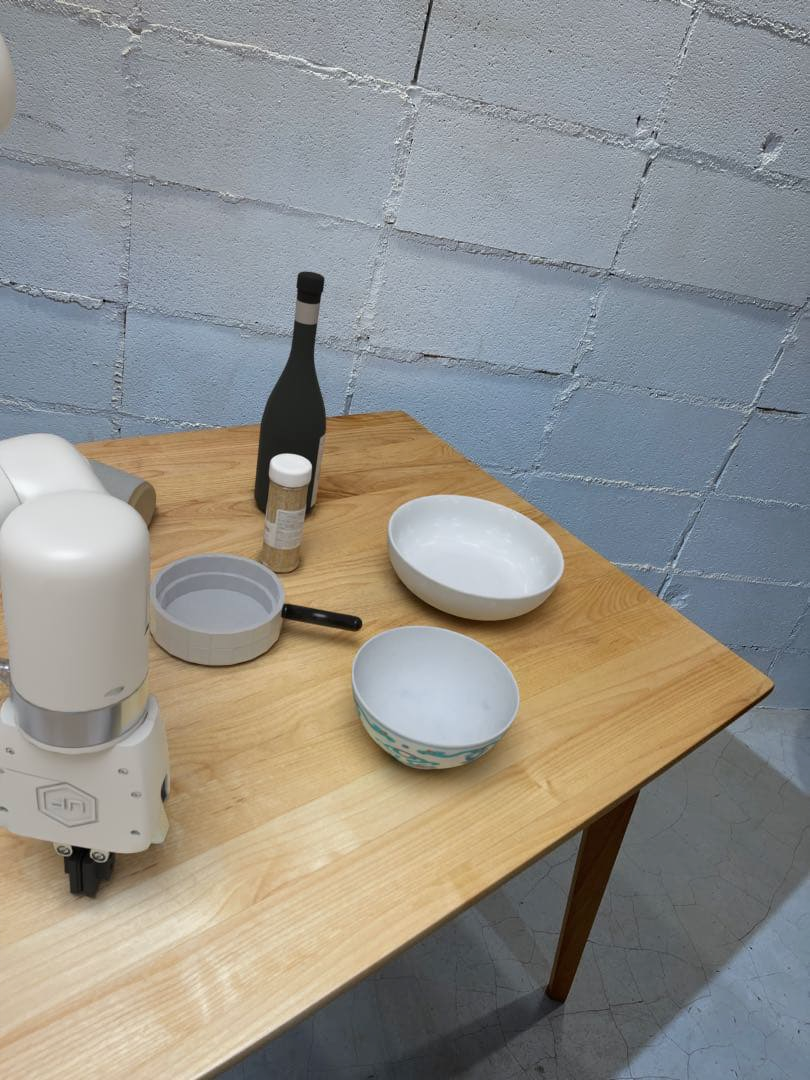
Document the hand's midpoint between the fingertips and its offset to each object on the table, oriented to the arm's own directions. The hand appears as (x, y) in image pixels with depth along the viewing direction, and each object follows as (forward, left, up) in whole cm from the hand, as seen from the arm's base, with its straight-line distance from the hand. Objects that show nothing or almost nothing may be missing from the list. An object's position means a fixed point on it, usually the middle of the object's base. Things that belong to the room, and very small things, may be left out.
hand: (90, 877), depth 58 cm
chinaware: (+23, +19, -1) cm, 30 cm away
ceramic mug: (-15, +45, -1) cm, 48 cm away
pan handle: (+12, +30, +2) cm, 32 cm away
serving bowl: (+27, +45, -1) cm, 53 cm away
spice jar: (+5, +43, -1) cm, 43 cm away
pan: (+1, +30, 0) cm, 30 cm away
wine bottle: (+3, +56, -1) cm, 56 cm away
